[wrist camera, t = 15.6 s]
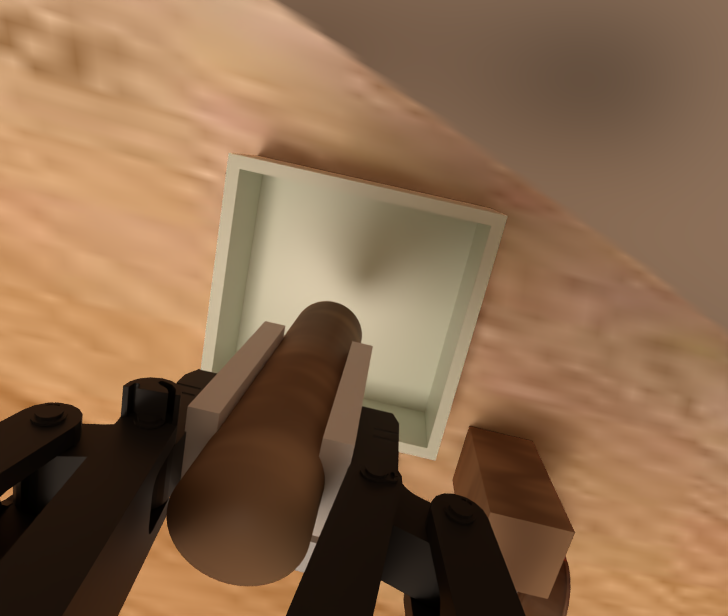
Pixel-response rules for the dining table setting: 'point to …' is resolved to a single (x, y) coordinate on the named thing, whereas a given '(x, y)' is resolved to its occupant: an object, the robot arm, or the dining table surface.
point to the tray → (356, 278)
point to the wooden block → (516, 506)
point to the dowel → (266, 459)
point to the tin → (550, 597)
